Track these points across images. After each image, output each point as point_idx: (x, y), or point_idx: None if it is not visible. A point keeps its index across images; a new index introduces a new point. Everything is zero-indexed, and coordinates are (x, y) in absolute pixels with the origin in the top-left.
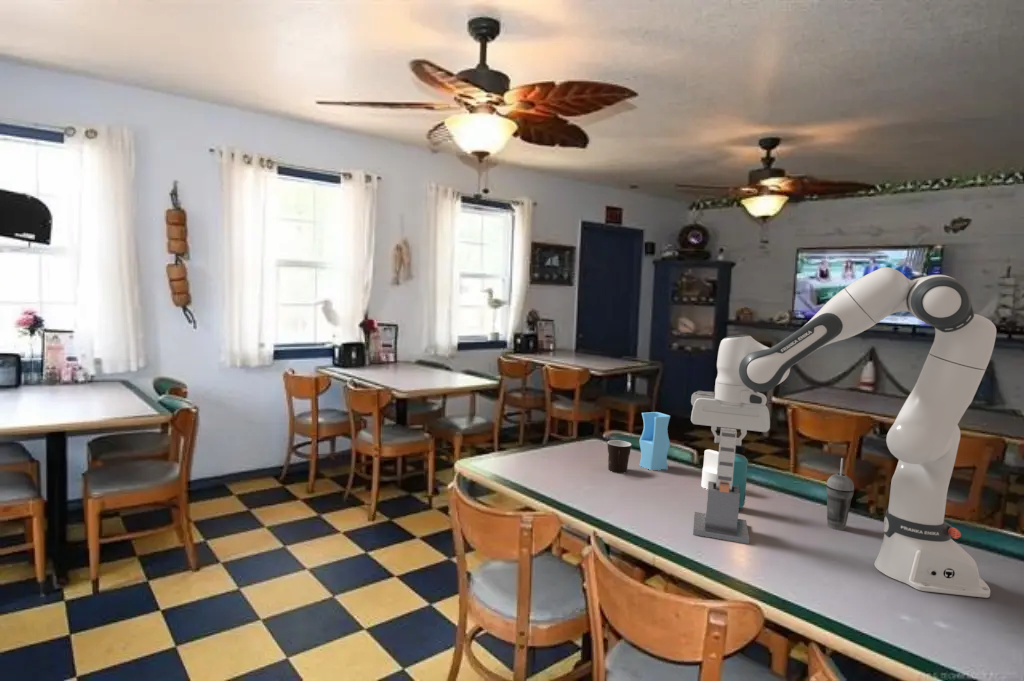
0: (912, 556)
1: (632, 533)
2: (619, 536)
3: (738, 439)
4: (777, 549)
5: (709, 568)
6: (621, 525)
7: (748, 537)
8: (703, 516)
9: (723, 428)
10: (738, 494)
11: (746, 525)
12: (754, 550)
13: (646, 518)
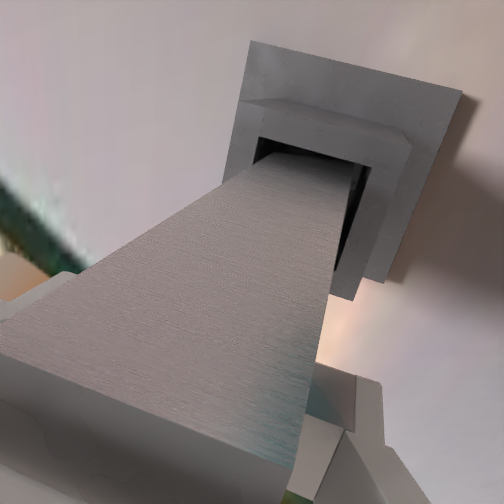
0: None
1: (58, 238)
2: (32, 261)
3: (305, 492)
4: (472, 304)
5: None
6: (27, 186)
7: (385, 273)
8: (275, 92)
9: (21, 416)
10: (346, 298)
11: (432, 159)
12: (382, 315)
13: (88, 108)
